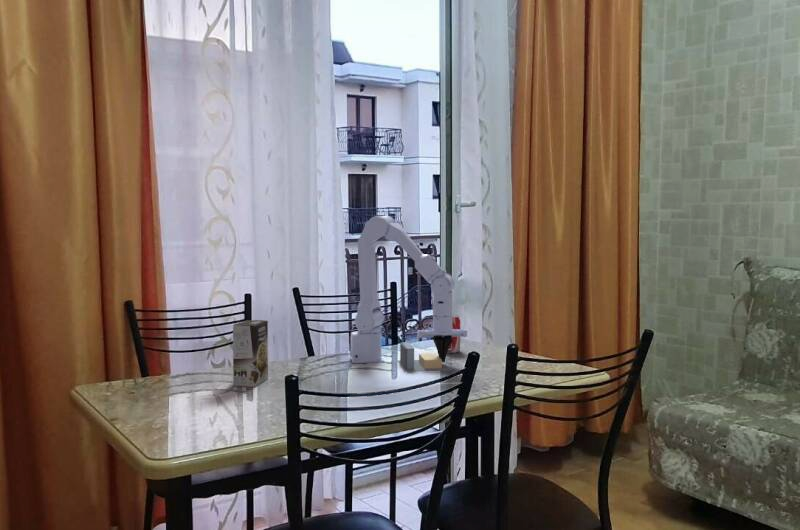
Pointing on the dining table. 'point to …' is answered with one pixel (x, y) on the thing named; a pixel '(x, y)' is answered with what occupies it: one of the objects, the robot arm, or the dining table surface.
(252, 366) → the coffee box
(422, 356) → the pale yellow block
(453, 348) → the beverage can
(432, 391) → the dining table surface
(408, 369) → the grey l-shaped piece
